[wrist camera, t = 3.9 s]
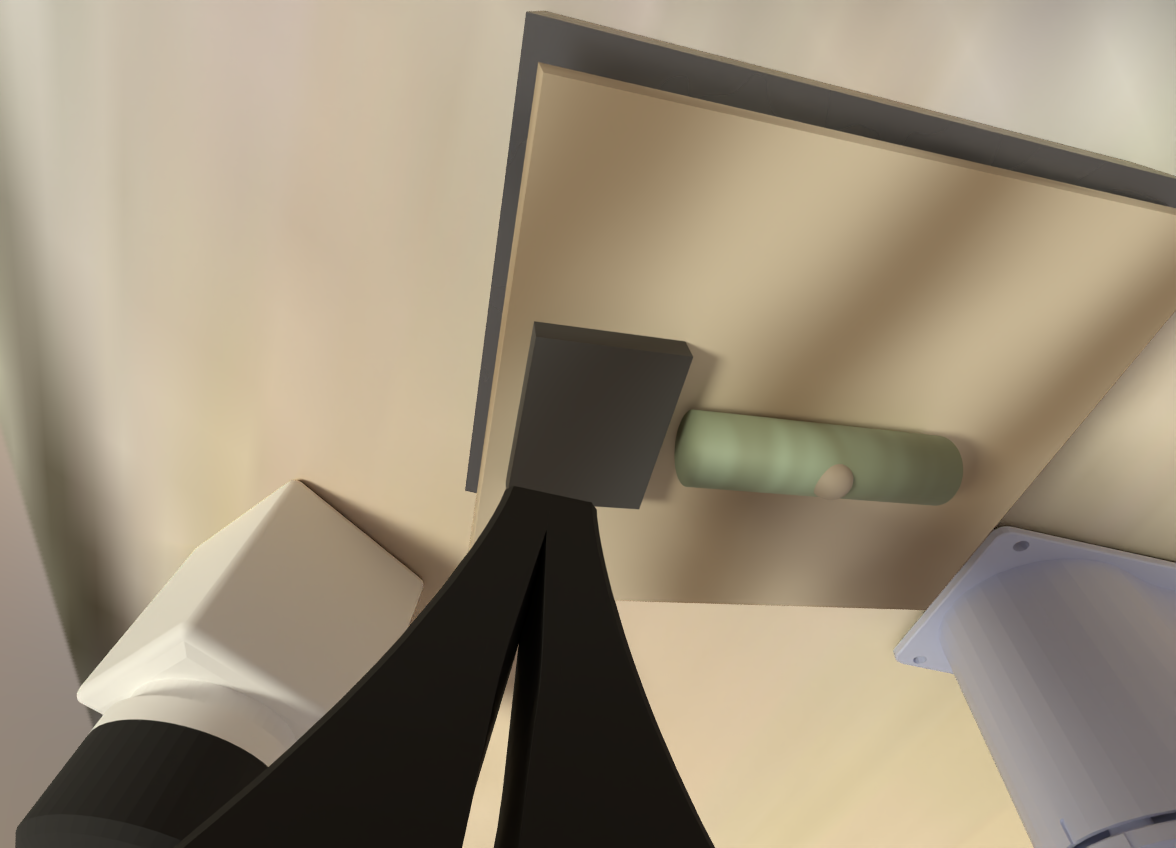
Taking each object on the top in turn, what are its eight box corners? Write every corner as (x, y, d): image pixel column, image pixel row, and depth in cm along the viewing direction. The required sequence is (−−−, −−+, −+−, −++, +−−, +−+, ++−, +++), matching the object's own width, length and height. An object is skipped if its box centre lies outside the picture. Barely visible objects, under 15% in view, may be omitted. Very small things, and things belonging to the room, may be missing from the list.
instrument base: (1133, 162, 15) (1216, 189, 13) (882, 528, 23) (908, 584, 20) (544, 10, 14) (526, 11, 12) (483, 441, 22) (465, 490, 20)
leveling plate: (1187, 211, 13) (1346, 266, 11) (904, 579, 20) (962, 664, 17) (537, 62, 10) (553, 93, 7) (467, 560, 17) (462, 660, 14)
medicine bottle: (196, 544, 26) (-76, 870, 16) (296, 472, 23) (42, 813, 14) (326, 634, 29) (162, 956, 19) (429, 580, 26) (299, 924, 16)
